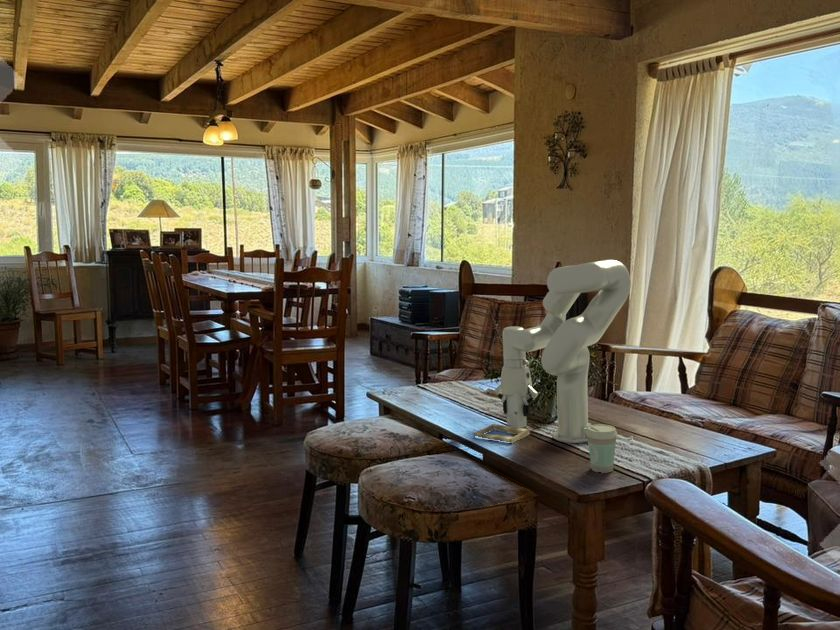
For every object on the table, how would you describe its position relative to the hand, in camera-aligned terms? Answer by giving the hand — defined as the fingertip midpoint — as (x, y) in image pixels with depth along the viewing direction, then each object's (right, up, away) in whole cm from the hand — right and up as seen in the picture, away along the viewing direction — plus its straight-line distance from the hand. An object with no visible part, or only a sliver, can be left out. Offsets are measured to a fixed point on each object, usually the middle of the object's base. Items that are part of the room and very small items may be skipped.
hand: (516, 413), depth 247 cm
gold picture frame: (-6, -6, -9) cm, 13 cm away
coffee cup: (+18, -10, -44) cm, 49 cm away
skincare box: (0, -4, +1) cm, 5 cm away
